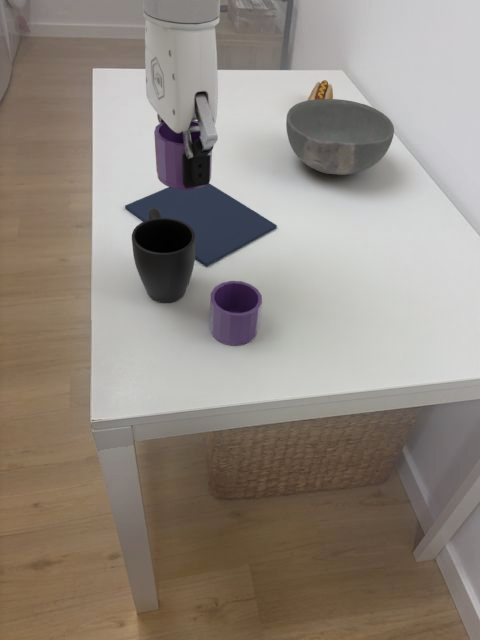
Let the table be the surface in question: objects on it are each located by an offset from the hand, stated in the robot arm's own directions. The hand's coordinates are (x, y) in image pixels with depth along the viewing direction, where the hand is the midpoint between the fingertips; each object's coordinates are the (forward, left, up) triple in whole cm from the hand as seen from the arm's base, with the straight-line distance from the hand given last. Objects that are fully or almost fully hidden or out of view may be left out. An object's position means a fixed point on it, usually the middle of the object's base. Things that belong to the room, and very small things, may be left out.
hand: (184, 168), depth 64 cm
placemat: (-10, +12, -18) cm, 24 cm away
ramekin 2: (+12, -2, -18) cm, 21 cm away
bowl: (-7, +44, -18) cm, 49 cm away
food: (-25, +62, -18) cm, 70 cm away
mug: (-2, -3, -18) cm, 18 cm away
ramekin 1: (0, 0, -1) cm, 1 cm away
